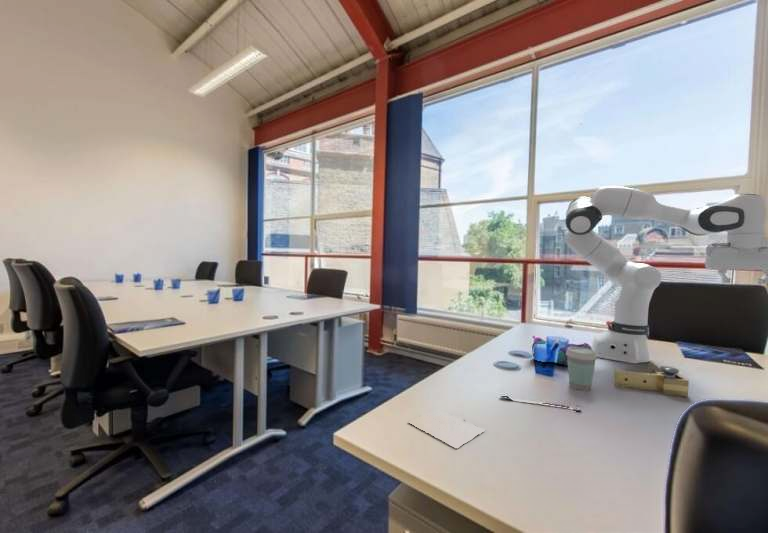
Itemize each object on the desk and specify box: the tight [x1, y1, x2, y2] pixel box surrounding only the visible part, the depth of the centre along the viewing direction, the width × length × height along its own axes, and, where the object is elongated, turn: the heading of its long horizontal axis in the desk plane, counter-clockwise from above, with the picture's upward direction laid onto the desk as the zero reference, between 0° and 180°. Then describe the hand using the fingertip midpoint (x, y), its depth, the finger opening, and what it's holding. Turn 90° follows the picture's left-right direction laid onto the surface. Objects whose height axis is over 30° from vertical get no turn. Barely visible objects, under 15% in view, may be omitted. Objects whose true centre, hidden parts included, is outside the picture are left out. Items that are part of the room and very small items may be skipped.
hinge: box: [613, 360, 690, 397], centre depth 112 cm, size 18×18×5 cm
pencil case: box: [531, 335, 592, 367], centre depth 130 cm, size 21×9×10 cm, turn 63°
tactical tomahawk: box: [501, 395, 582, 413], centre depth 97 cm, size 21×7×1 cm, turn 68°
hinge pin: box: [660, 365, 680, 378], centre depth 105 cm, size 4×4×7 cm
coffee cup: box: [566, 347, 598, 391], centre depth 108 cm, size 8×8×12 cm
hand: (744, 283), depth 114 cm, fingers open, 8 cm apart
